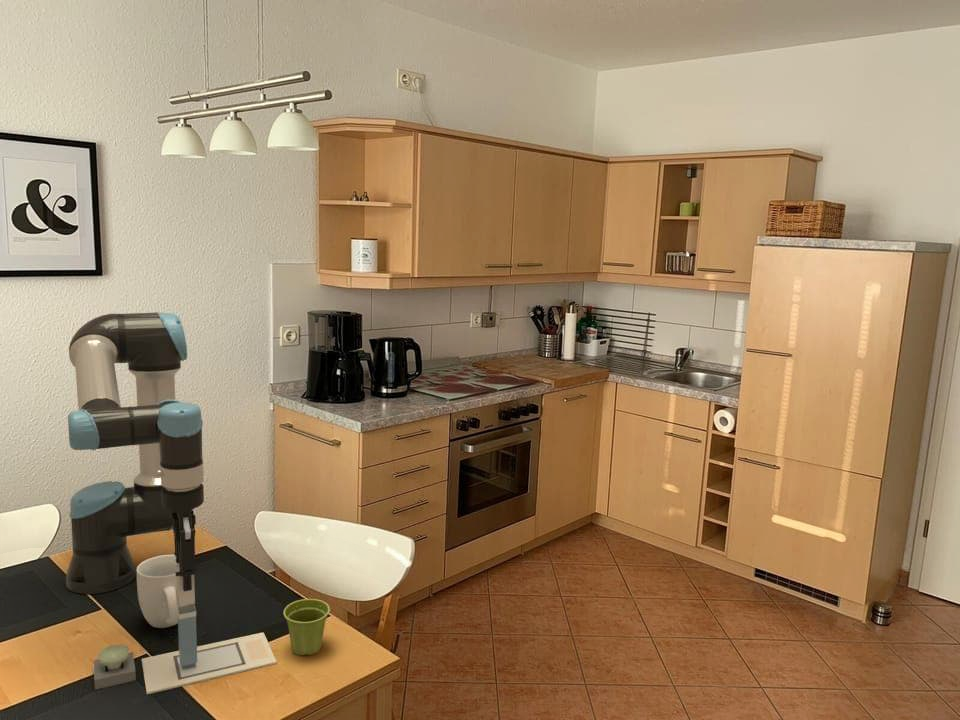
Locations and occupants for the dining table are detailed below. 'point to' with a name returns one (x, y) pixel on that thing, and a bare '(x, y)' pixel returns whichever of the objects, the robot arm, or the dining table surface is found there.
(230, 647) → the sheet
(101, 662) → the button
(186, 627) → the square grey prism
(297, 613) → the plant pot
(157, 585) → the mug
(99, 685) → the button housing
